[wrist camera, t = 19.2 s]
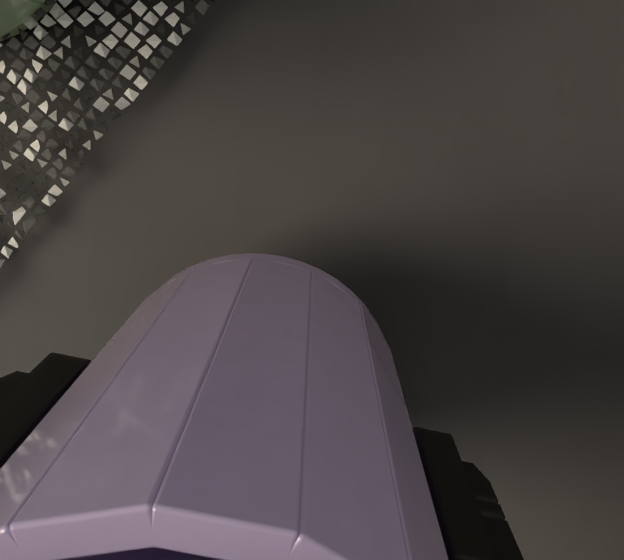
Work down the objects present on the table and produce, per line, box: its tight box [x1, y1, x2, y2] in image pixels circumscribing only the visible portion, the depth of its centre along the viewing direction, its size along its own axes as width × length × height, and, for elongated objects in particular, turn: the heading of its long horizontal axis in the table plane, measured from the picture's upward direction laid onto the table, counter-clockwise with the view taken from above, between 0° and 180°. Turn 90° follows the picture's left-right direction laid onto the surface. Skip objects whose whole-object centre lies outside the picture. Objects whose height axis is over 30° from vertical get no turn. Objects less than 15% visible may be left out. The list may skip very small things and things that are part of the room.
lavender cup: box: [0, 253, 449, 560], centre depth 10 cm, size 6×6×8 cm
